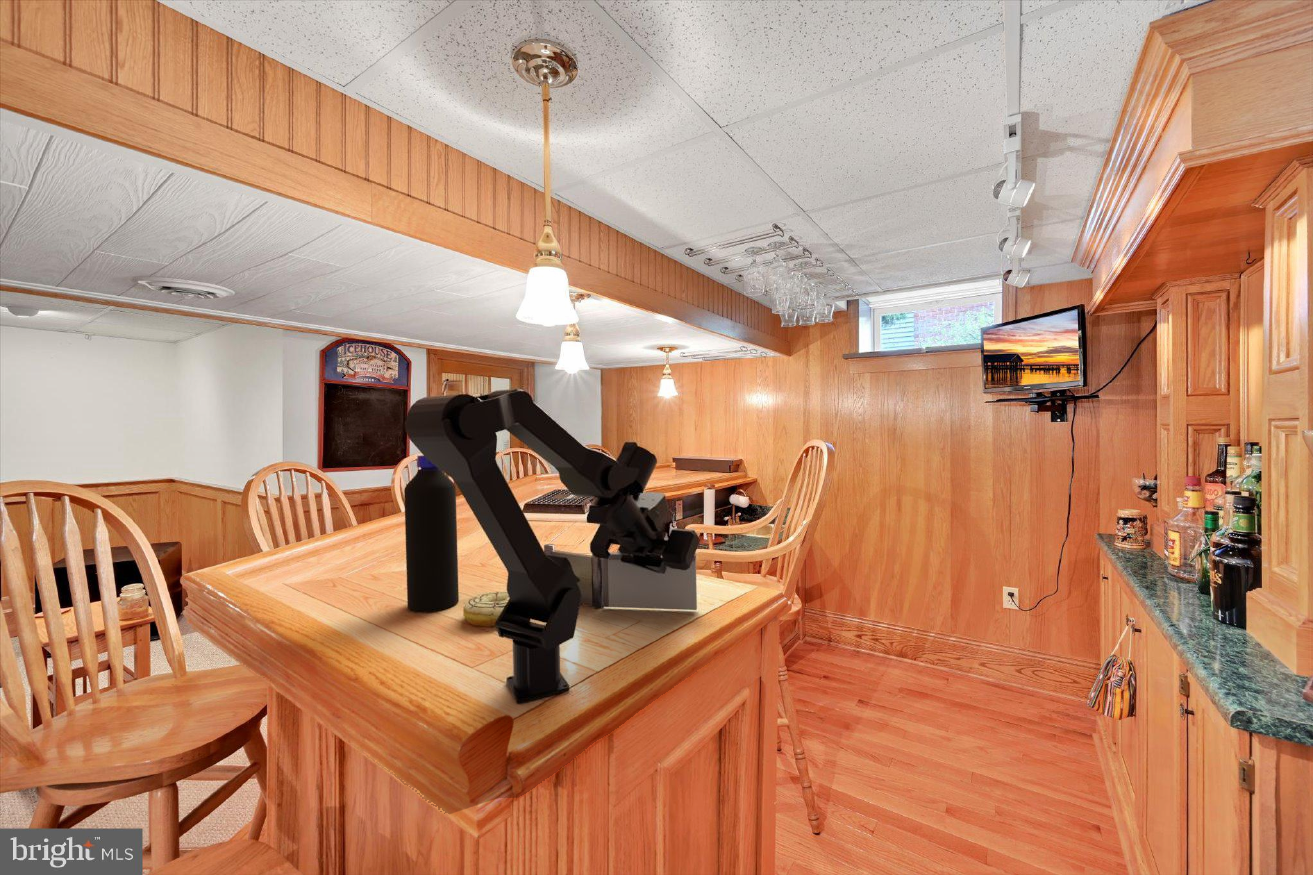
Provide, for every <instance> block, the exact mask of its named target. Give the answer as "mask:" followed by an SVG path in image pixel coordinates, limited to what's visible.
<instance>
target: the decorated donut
mask: <svg viewBox="0 0 1313 875" xmlns="http://www.w3.org/2000/svg"><path fill="white" fill-rule="evenodd" d="M509 599H510V598H509V595H508V592H507V591H490V592H485V593H481V594H478V595H476V596H473V597H471V598H469V599H468V600H466V601H465V603H464V605H463V617H464V619H465V620H467V622H468V623H470V624H471V625H473V626H475V627H476V626H477V627H485V628H489V627H493V628H494V627H495V622H496V620H497V619H498V617H499V615H500V614H501V612H502V610H503V609H504V607H505V605H506V604H507V602H508V600H509Z"/></svg>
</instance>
